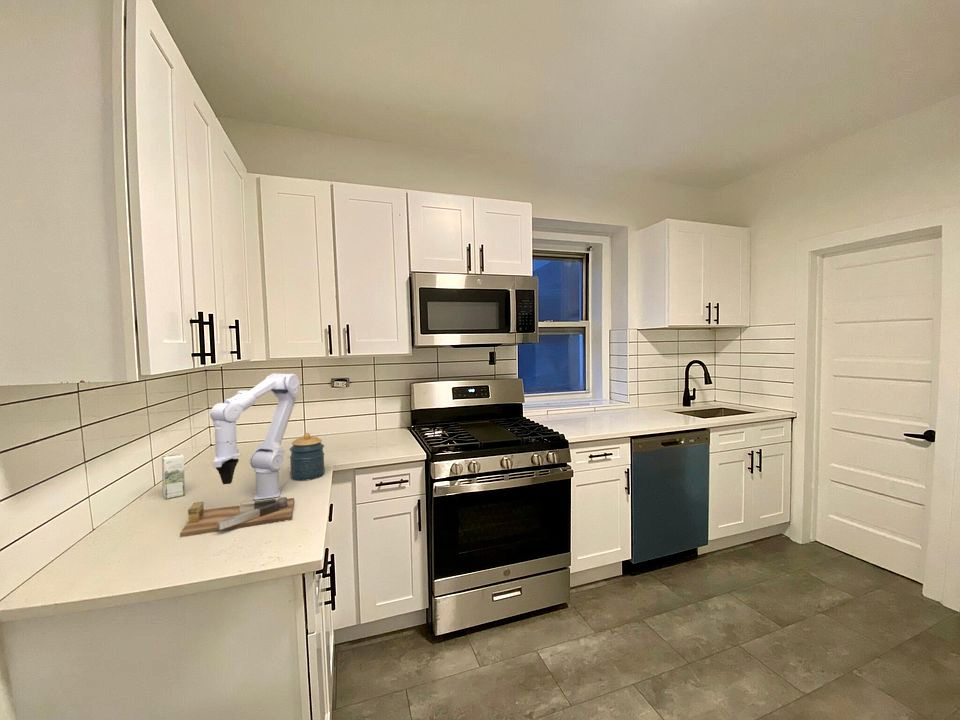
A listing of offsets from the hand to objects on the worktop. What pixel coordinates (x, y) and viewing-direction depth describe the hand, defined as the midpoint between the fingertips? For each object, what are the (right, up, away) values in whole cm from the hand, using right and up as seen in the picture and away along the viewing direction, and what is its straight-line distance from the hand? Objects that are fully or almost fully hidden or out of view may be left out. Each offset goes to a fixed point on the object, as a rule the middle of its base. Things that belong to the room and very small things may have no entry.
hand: (227, 483), depth 127 cm
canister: (+10, -8, +37) cm, 39 cm away
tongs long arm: (+12, -8, -8) cm, 16 cm away
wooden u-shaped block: (-5, -8, -7) cm, 12 cm away
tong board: (+7, -10, -3) cm, 12 cm away
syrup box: (-29, -9, +16) cm, 34 cm away
